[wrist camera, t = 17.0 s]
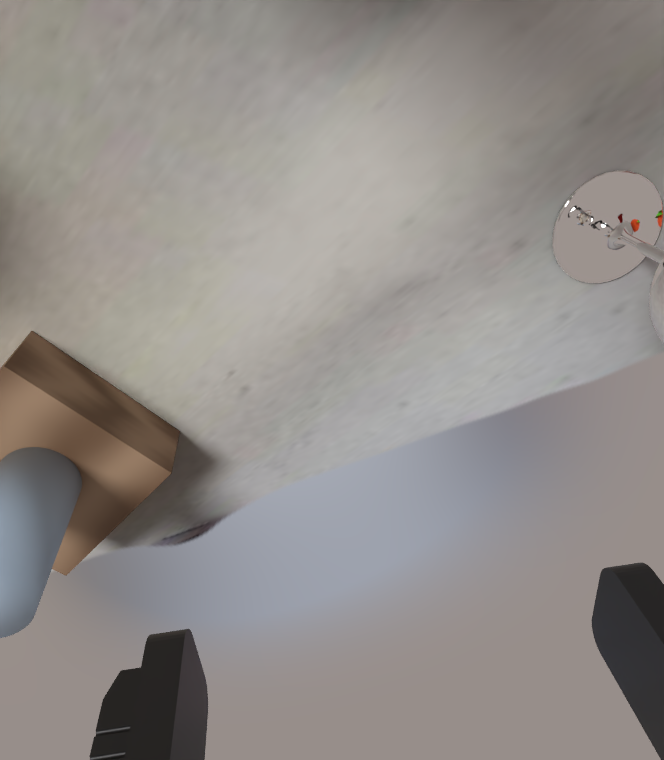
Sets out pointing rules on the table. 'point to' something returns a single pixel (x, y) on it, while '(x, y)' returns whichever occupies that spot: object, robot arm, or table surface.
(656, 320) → the wineglass
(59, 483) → the blue-grey cylinder
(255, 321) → the table surface
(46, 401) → the walnut base
